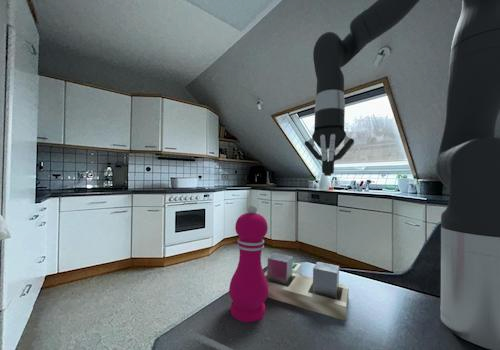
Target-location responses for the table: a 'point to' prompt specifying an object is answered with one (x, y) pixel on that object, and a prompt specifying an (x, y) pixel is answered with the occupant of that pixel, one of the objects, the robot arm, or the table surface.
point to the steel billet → (280, 269)
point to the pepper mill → (249, 269)
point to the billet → (326, 280)
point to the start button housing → (297, 269)
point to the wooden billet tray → (310, 296)
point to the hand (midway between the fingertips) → (327, 175)
